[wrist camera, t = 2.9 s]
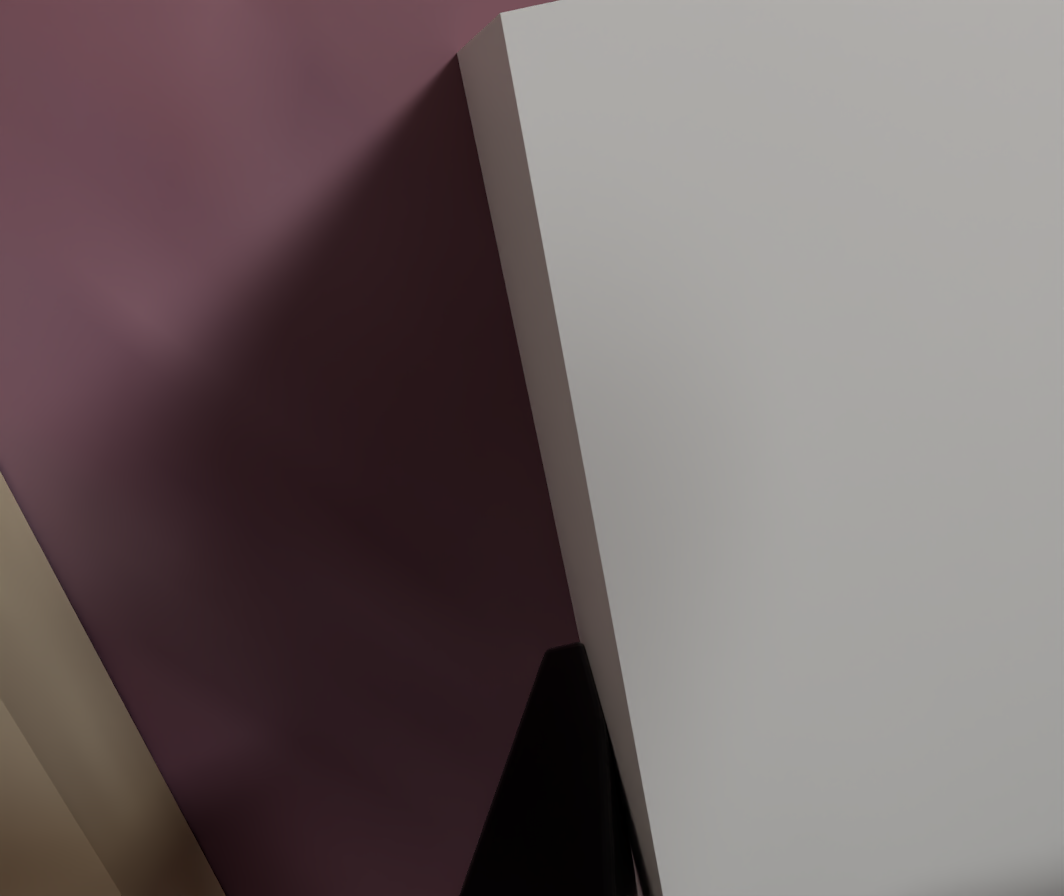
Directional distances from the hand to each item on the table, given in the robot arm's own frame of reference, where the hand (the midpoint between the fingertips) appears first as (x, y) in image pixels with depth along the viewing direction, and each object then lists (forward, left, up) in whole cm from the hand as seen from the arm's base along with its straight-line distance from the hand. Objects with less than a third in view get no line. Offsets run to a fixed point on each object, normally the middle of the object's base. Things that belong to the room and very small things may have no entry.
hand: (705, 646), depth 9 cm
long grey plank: (0, 0, -1) cm, 1 cm away
